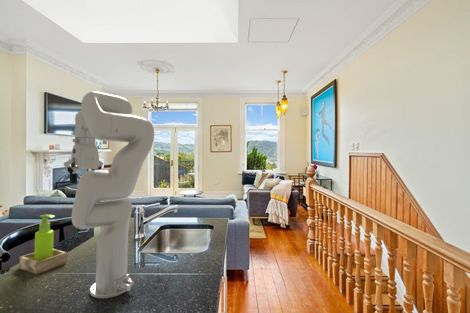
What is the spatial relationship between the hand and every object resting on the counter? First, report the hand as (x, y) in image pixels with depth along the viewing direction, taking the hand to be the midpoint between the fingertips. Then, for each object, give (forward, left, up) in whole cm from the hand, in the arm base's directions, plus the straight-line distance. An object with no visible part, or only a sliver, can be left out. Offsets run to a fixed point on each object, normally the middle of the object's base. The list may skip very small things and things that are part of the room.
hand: (84, 182), depth 102 cm
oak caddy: (+8, +10, -33) cm, 36 cm away
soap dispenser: (+8, +10, -33) cm, 35 cm away
